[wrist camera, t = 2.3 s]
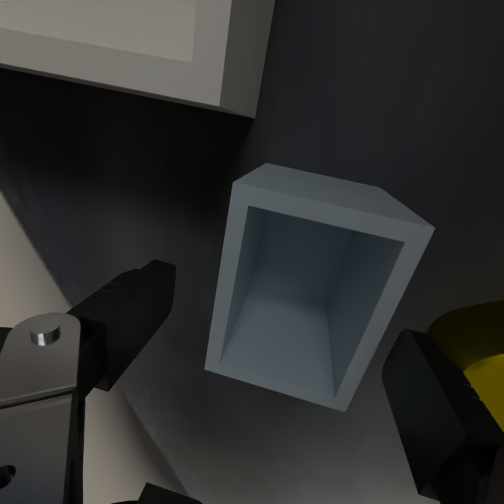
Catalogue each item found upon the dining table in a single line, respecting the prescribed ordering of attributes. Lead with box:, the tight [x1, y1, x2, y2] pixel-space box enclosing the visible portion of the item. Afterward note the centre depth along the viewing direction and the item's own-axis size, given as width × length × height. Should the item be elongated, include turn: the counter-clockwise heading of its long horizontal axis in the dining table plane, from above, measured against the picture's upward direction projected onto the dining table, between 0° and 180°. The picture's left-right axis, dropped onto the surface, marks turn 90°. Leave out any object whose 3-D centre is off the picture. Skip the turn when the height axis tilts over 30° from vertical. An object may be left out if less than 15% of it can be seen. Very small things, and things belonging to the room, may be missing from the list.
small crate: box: [204, 163, 435, 412], centre depth 13 cm, size 6×8×7 cm
